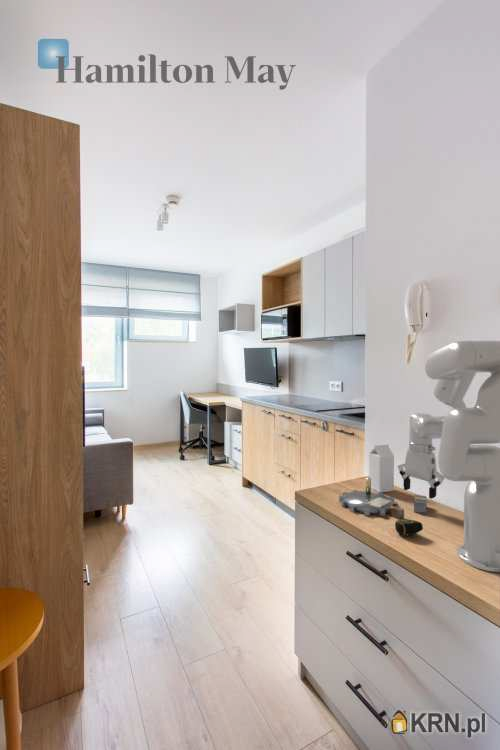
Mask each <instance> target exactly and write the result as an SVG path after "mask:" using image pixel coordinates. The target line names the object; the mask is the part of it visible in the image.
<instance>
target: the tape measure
mask: <svg viewBox="0 0 500 750" xmlns="http://www.w3.org/2000/svg"><path fill="white" fill-rule="evenodd" d="M394 526H395V531H396V532H397V533H399V534H401V535H403V536H410V535H416V534H418V533H420V532H421V531H423V529H424V528H423V527H424V525H423V524H422V522H420V521H417V520H413V519H407V518H405V519H404V518H402V519H398V520H395V524H394Z"/></svg>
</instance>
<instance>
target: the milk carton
mask: <svg viewBox="0 0 500 750" xmlns="http://www.w3.org/2000/svg"><path fill="white" fill-rule="evenodd" d="M389 445H390V444H387V443H386V444H376V445H374V446H373V447H374V448H373V449H372V450H371V451H370V452H369V455H368V457H369V459H368V461H369V462H368V463H369V464H368V472H369V473H368V478H371V490H374V491H376V493H386V492H387V493H388V492H394V490H395V485H394V483H395V455H394V453H393V451H392V450H391V449H390V447H389Z"/></svg>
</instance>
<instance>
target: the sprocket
mask: <svg viewBox="0 0 500 750" xmlns="http://www.w3.org/2000/svg"><path fill="white" fill-rule="evenodd" d="M338 501H339V502H340V501H341V502H340V506H341V507H342V508H348V509H349V512H352V513H359V514H363V515H364V516H367V517H371V516H370V515H374V516H379V517H386V514H391V515H392V508H393V507H399V503H398V501H395V498H394V497H393V496H387V495H385V493H384V492H381V493H379V492H373V491H372V488H371V478H369V476H368V477H365V490H364V491H363V490H361V491H360V490H357V489H355V490H354V489H353V490H352V491H350V492H349V491H344V492H342V495H339V496H338Z"/></svg>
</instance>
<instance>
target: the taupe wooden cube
mask: <svg viewBox="0 0 500 750" xmlns="http://www.w3.org/2000/svg"><path fill="white" fill-rule="evenodd" d="M391 517H393V518H395V519H398V520H403V519H404V518H405V508H402V507H399V506H398V507H393V508H392V514H391Z"/></svg>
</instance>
